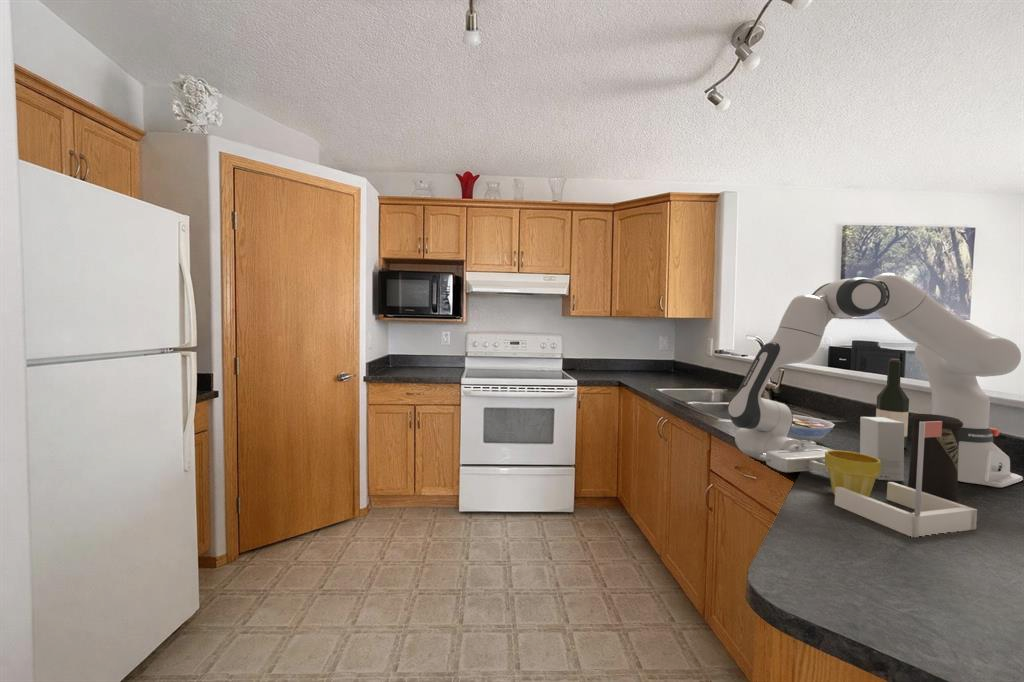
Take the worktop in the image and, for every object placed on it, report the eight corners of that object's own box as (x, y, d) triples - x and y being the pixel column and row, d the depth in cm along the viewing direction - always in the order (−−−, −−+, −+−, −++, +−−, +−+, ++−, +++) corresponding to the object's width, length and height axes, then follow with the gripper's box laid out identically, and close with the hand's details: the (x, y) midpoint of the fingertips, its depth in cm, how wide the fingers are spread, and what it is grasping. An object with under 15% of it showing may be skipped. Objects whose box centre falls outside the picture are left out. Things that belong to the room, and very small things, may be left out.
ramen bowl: (854, 449, 144) (855, 424, 144) (797, 452, 139) (798, 426, 139) (791, 430, 169) (792, 410, 168) (740, 432, 164) (741, 411, 163)
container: (949, 509, 96) (954, 420, 95) (898, 495, 104) (903, 412, 103) (965, 502, 100) (970, 417, 99) (915, 489, 108) (919, 410, 107)
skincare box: (904, 482, 113) (907, 423, 113) (875, 480, 114) (878, 421, 114) (883, 471, 121) (886, 416, 121) (856, 469, 123) (859, 415, 122)
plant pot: (855, 489, 107) (857, 450, 107) (891, 506, 97) (893, 463, 97) (813, 487, 108) (815, 449, 107) (844, 505, 97) (846, 462, 97)
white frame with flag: (891, 498, 102) (896, 405, 101) (976, 529, 87) (982, 420, 86) (834, 504, 98) (839, 407, 97) (912, 537, 83) (919, 423, 82)
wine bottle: (913, 449, 145) (918, 360, 144) (888, 449, 145) (892, 359, 144) (892, 442, 153) (896, 358, 152) (868, 442, 153) (872, 357, 152)
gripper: (755, 444, 117) (800, 459, 104) (815, 440, 122) (866, 455, 109) (754, 467, 118) (799, 485, 104) (814, 462, 122) (865, 479, 109)
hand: (834, 469), depth 107 cm, fingers closed
